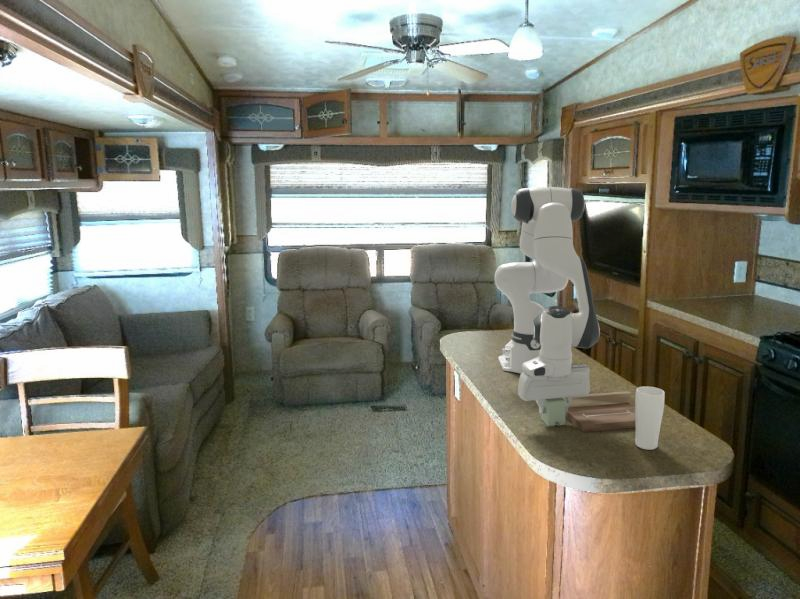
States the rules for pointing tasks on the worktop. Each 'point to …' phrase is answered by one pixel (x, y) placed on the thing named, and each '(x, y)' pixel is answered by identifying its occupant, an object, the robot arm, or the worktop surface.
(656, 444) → the drinking glass
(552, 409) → the block
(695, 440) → the worktop surface
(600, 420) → the walnut board
